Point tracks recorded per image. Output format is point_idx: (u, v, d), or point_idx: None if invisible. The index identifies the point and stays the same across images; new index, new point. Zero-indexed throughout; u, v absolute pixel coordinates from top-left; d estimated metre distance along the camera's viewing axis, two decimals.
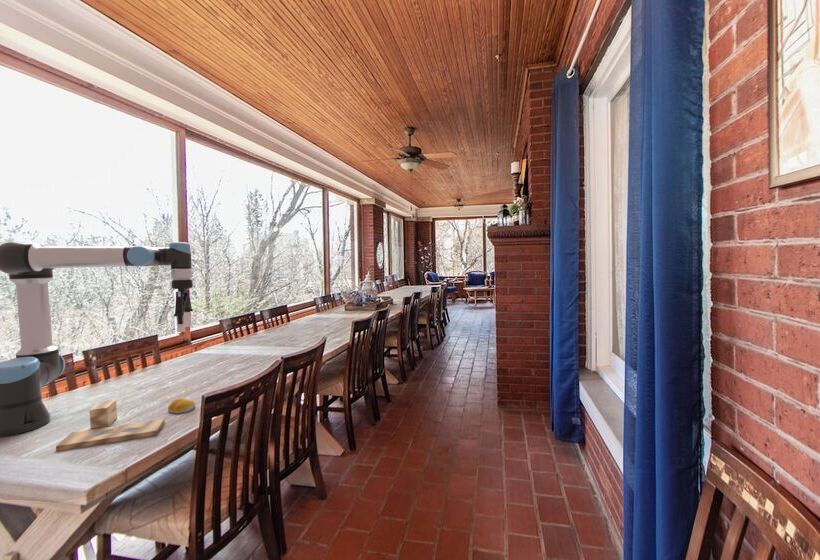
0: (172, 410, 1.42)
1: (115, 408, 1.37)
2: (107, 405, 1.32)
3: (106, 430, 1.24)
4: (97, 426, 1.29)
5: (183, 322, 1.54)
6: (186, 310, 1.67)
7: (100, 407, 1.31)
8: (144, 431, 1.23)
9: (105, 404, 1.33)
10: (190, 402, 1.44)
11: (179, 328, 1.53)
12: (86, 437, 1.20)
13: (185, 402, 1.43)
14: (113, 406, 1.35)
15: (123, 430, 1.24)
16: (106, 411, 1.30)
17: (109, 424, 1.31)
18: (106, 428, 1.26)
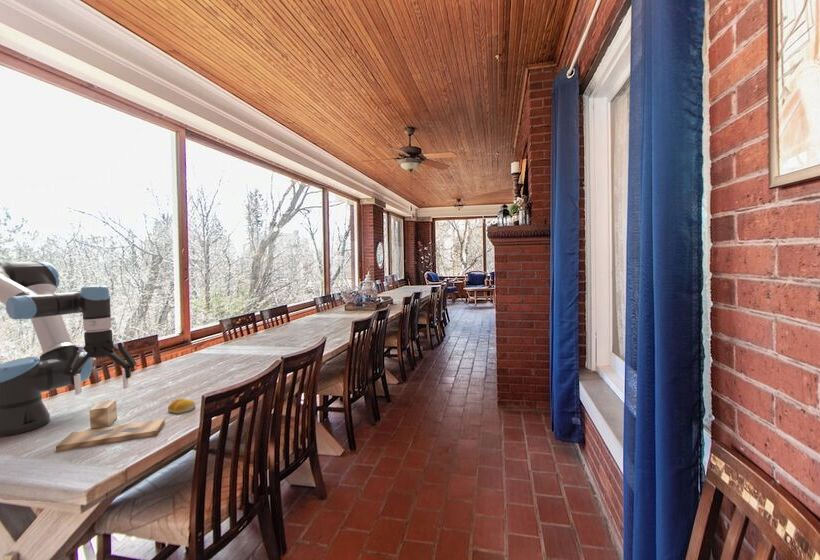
0: (172, 410, 1.42)
1: (115, 408, 1.37)
2: (107, 405, 1.32)
3: (106, 430, 1.24)
4: (97, 426, 1.29)
5: None
6: None
7: (100, 407, 1.31)
8: (144, 431, 1.23)
9: (105, 404, 1.33)
10: (190, 402, 1.44)
11: None
12: (86, 437, 1.20)
13: (185, 402, 1.43)
14: (113, 406, 1.35)
15: (123, 430, 1.24)
16: (106, 411, 1.30)
17: (109, 424, 1.31)
18: (106, 428, 1.26)
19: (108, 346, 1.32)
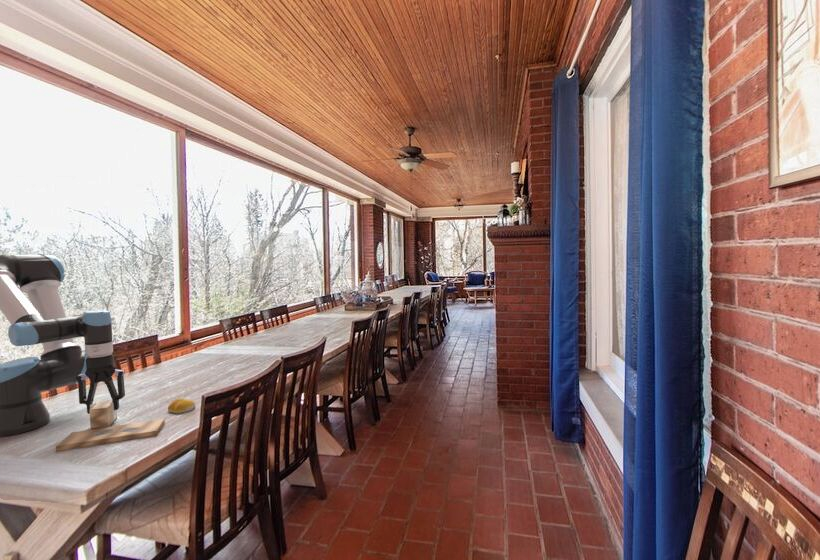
0: (172, 410, 1.42)
1: None
2: (107, 405, 1.32)
3: (106, 430, 1.24)
4: (97, 426, 1.29)
5: None
6: None
7: (100, 406, 1.31)
8: (144, 431, 1.23)
9: (105, 404, 1.33)
10: (190, 402, 1.45)
11: None
12: (86, 437, 1.20)
13: (185, 402, 1.43)
14: None
15: (123, 430, 1.24)
16: (106, 411, 1.30)
17: (109, 424, 1.31)
18: (106, 428, 1.26)
19: (109, 371, 1.32)
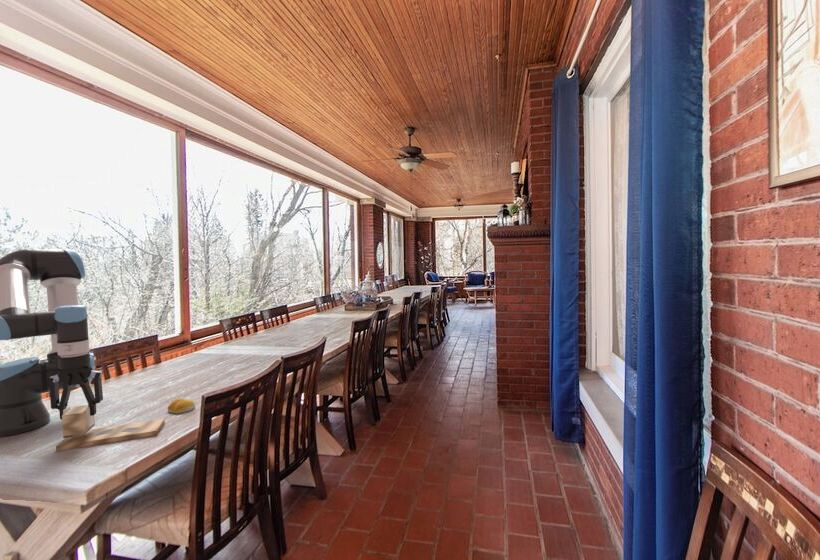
0: (172, 410, 1.42)
1: None
2: (82, 410, 1.19)
3: (106, 430, 1.24)
4: (71, 433, 1.16)
5: None
6: None
7: (74, 412, 1.18)
8: (144, 431, 1.23)
9: (80, 409, 1.20)
10: (190, 402, 1.45)
11: None
12: (86, 437, 1.20)
13: (185, 402, 1.43)
14: None
15: (123, 430, 1.24)
16: (81, 417, 1.17)
17: (84, 431, 1.18)
18: (106, 428, 1.26)
19: (85, 372, 1.19)
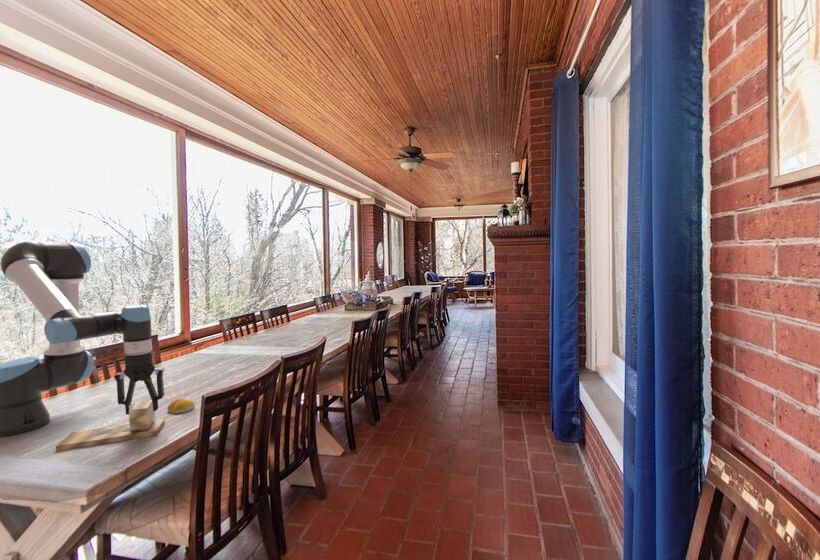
0: (172, 410, 1.42)
1: None
2: (146, 405, 1.25)
3: (106, 430, 1.24)
4: (137, 428, 1.22)
5: None
6: None
7: (139, 407, 1.24)
8: (144, 431, 1.23)
9: (144, 404, 1.26)
10: (190, 402, 1.45)
11: None
12: (86, 437, 1.20)
13: (185, 402, 1.43)
14: None
15: (123, 430, 1.24)
16: (146, 412, 1.23)
17: (149, 425, 1.24)
18: (106, 428, 1.26)
19: (149, 369, 1.25)
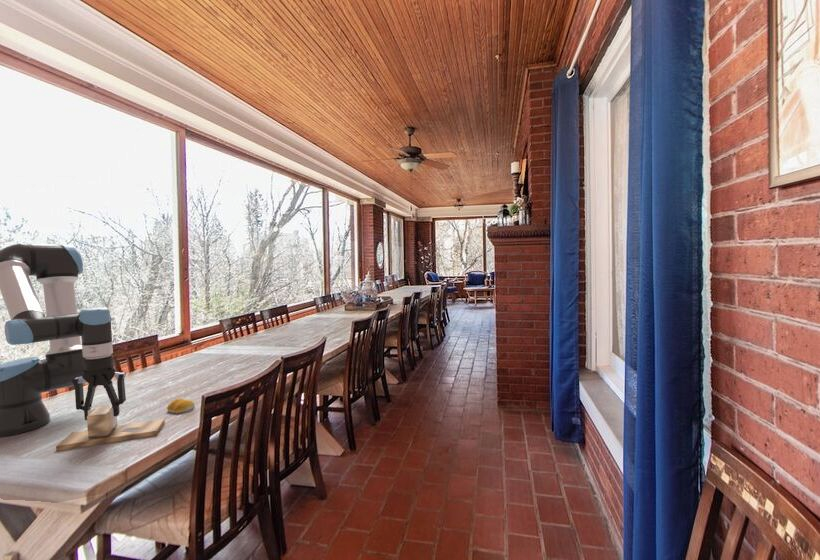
0: (171, 410, 1.42)
1: None
2: (106, 411, 1.21)
3: None
4: (95, 434, 1.18)
5: None
6: None
7: (98, 412, 1.20)
8: (144, 431, 1.23)
9: (104, 409, 1.22)
10: (189, 402, 1.45)
11: None
12: (86, 437, 1.20)
13: (184, 402, 1.43)
14: None
15: (123, 430, 1.24)
16: (105, 417, 1.19)
17: (108, 431, 1.20)
18: None
19: (109, 373, 1.21)
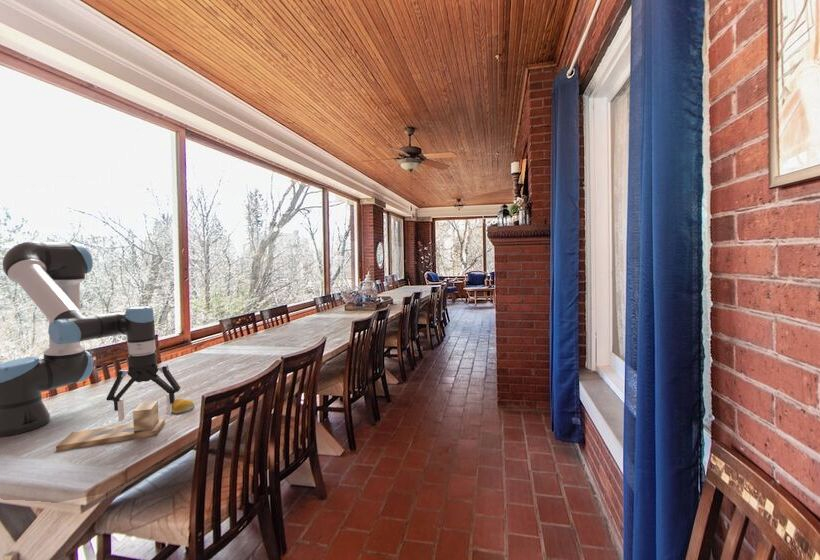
0: None
1: (157, 409, 1.30)
2: (150, 406, 1.25)
3: (106, 430, 1.24)
4: (140, 428, 1.23)
5: (118, 409, 1.23)
6: None
7: (143, 408, 1.24)
8: (144, 431, 1.23)
9: (148, 405, 1.27)
10: (189, 402, 1.45)
11: None
12: (86, 437, 1.20)
13: (184, 402, 1.43)
14: (156, 407, 1.29)
15: (123, 430, 1.24)
16: (150, 413, 1.23)
17: (152, 426, 1.25)
18: (106, 428, 1.26)
19: (152, 370, 1.26)
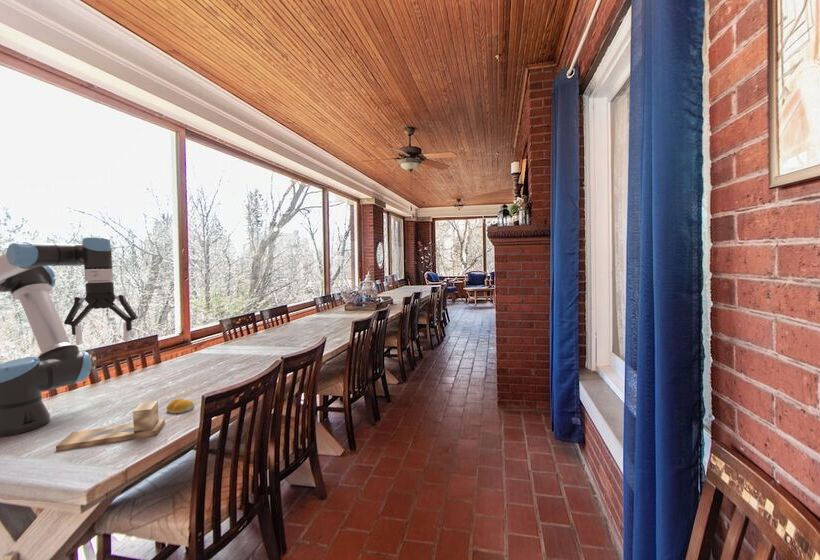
0: (171, 410, 1.42)
1: (157, 409, 1.30)
2: (150, 406, 1.25)
3: (106, 430, 1.24)
4: (140, 428, 1.23)
5: (75, 333, 1.29)
6: None
7: (143, 408, 1.24)
8: (144, 431, 1.23)
9: (148, 405, 1.27)
10: (189, 402, 1.45)
11: None
12: (86, 437, 1.20)
13: (184, 402, 1.43)
14: (156, 407, 1.29)
15: (123, 430, 1.24)
16: (150, 413, 1.23)
17: (152, 426, 1.25)
18: (106, 428, 1.26)
19: (109, 298, 1.32)
